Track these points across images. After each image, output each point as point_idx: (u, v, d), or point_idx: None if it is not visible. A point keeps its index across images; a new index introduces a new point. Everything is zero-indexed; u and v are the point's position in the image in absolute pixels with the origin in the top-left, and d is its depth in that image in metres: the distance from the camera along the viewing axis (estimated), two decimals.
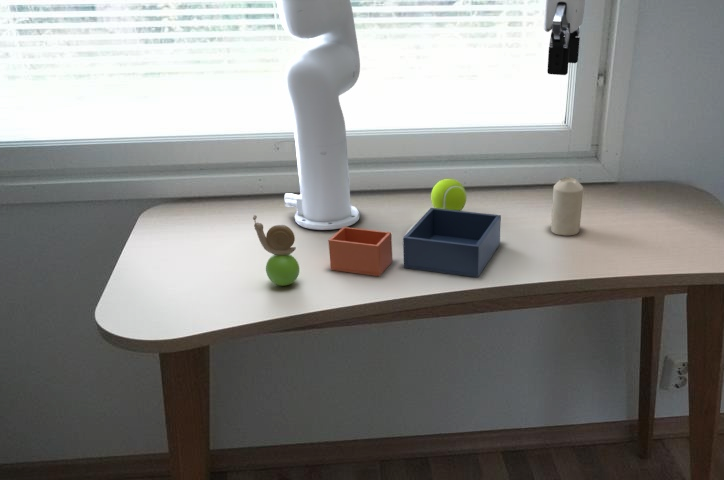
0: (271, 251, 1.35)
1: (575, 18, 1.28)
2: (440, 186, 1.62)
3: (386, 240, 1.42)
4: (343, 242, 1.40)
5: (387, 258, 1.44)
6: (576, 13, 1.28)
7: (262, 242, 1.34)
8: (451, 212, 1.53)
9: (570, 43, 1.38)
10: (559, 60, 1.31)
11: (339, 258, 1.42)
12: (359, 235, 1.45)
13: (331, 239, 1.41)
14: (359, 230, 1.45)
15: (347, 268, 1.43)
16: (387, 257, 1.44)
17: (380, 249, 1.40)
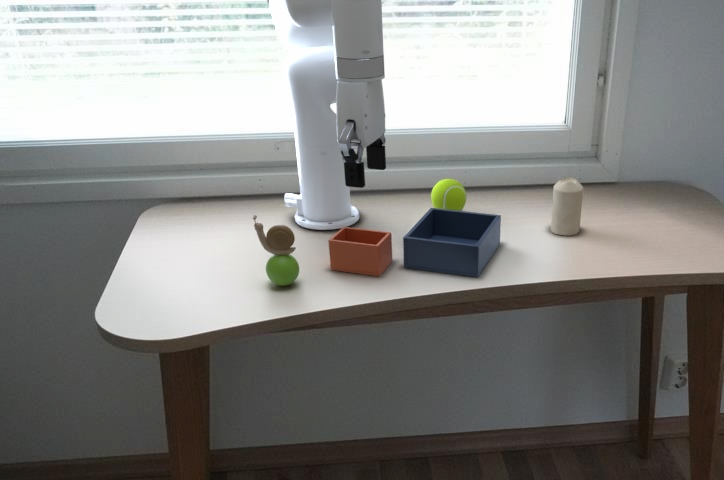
0: (271, 251, 1.35)
1: (366, 134, 1.29)
2: (440, 186, 1.62)
3: (386, 240, 1.42)
4: (343, 242, 1.40)
5: (387, 258, 1.44)
6: (367, 129, 1.29)
7: (262, 242, 1.34)
8: (451, 212, 1.53)
9: (376, 151, 1.39)
10: (354, 174, 1.31)
11: (339, 258, 1.42)
12: (359, 235, 1.45)
13: (331, 239, 1.41)
14: (359, 230, 1.45)
15: (347, 268, 1.43)
16: (387, 257, 1.44)
17: (380, 249, 1.40)
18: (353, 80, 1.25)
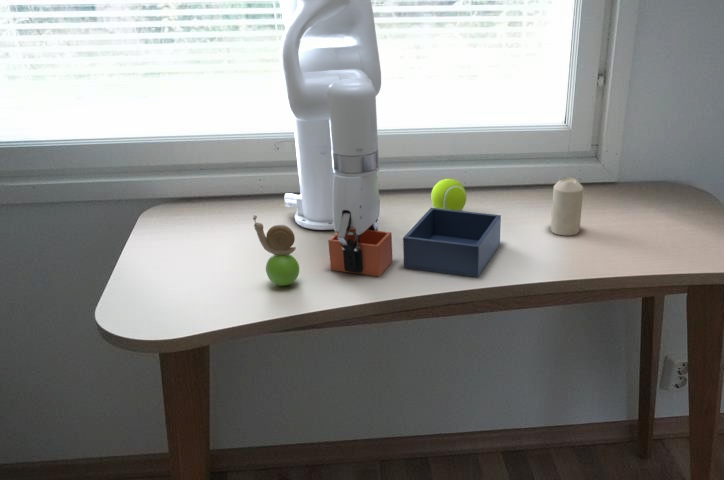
0: (271, 251, 1.35)
1: (361, 223, 1.36)
2: (440, 186, 1.62)
3: (386, 240, 1.42)
4: None
5: (387, 258, 1.44)
6: (361, 219, 1.36)
7: (262, 242, 1.34)
8: (451, 212, 1.53)
9: None
10: (352, 261, 1.40)
11: (339, 258, 1.42)
12: None
13: (331, 239, 1.41)
14: None
15: None
16: (387, 257, 1.44)
17: (380, 249, 1.40)
18: (349, 174, 1.33)
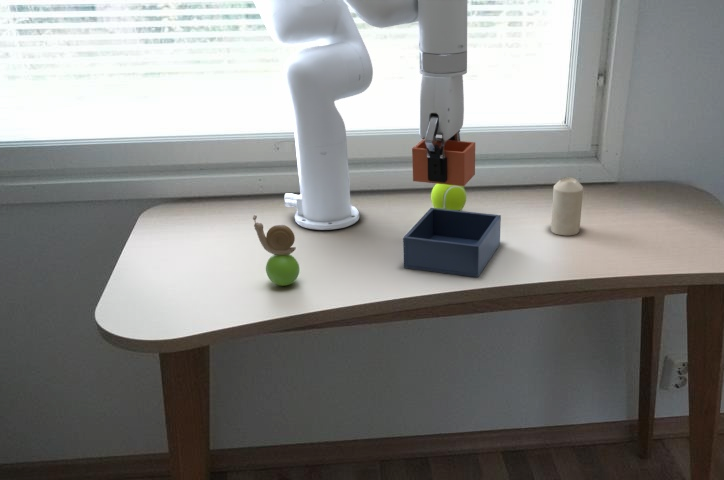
0: (271, 251, 1.35)
1: (448, 127, 1.32)
2: (440, 186, 1.62)
3: (471, 149, 1.38)
4: None
5: (471, 169, 1.40)
6: (449, 123, 1.32)
7: (262, 242, 1.34)
8: (451, 212, 1.53)
9: None
10: (437, 169, 1.36)
11: (423, 168, 1.38)
12: None
13: (415, 147, 1.37)
14: None
15: None
16: (471, 168, 1.40)
17: (466, 157, 1.36)
18: (438, 75, 1.29)
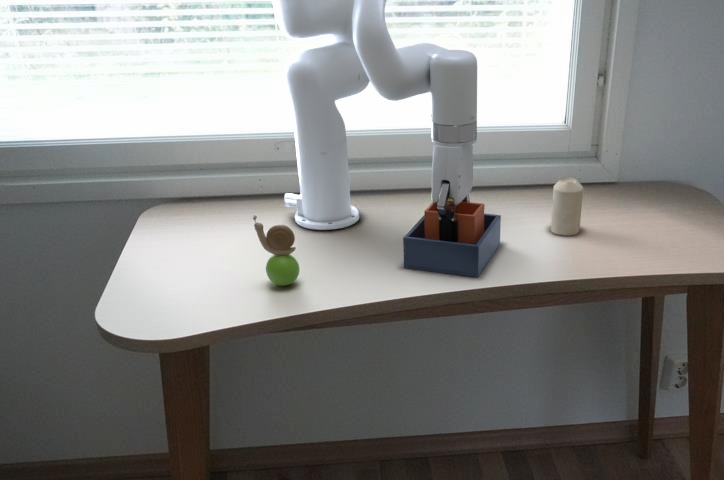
0: (271, 251, 1.35)
1: (459, 193, 1.38)
2: None
3: (480, 211, 1.44)
4: None
5: (480, 229, 1.46)
6: (460, 188, 1.38)
7: (262, 242, 1.34)
8: None
9: None
10: (448, 231, 1.42)
11: (434, 229, 1.44)
12: None
13: (427, 210, 1.43)
14: None
15: None
16: (480, 228, 1.46)
17: (476, 220, 1.42)
18: (449, 144, 1.35)
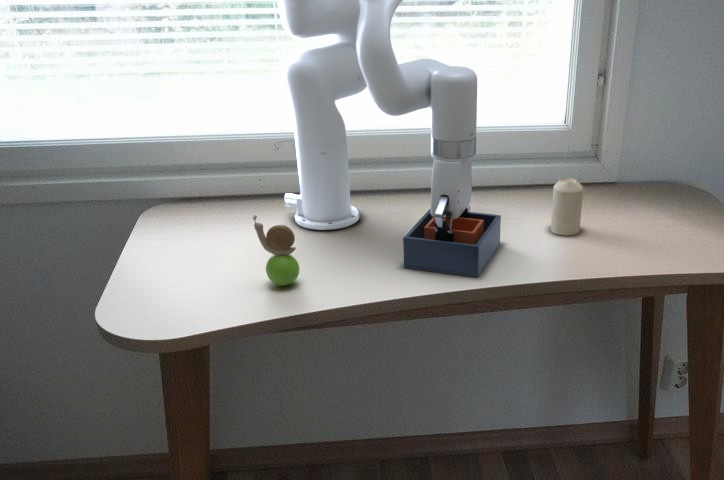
0: (271, 251, 1.35)
1: (458, 207, 1.40)
2: None
3: (480, 227, 1.46)
4: None
5: None
6: (458, 203, 1.40)
7: (262, 242, 1.34)
8: None
9: None
10: None
11: None
12: None
13: (427, 226, 1.45)
14: None
15: None
16: None
17: (475, 236, 1.44)
18: (448, 160, 1.36)
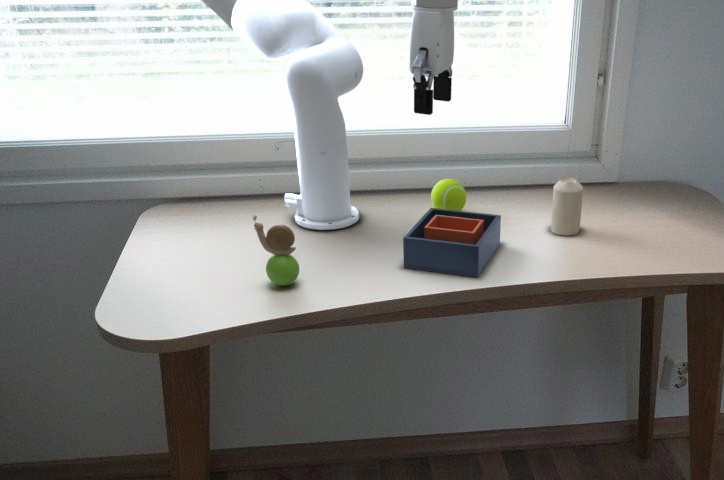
0: (271, 251, 1.35)
1: (437, 62, 1.36)
2: (440, 186, 1.62)
3: (480, 227, 1.46)
4: (439, 229, 1.44)
5: None
6: (438, 58, 1.36)
7: (262, 242, 1.34)
8: (451, 212, 1.53)
9: (442, 83, 1.46)
10: (423, 101, 1.38)
11: None
12: (451, 223, 1.49)
13: (427, 226, 1.45)
14: (452, 218, 1.48)
15: None
16: None
17: (475, 236, 1.44)
18: (428, 9, 1.33)
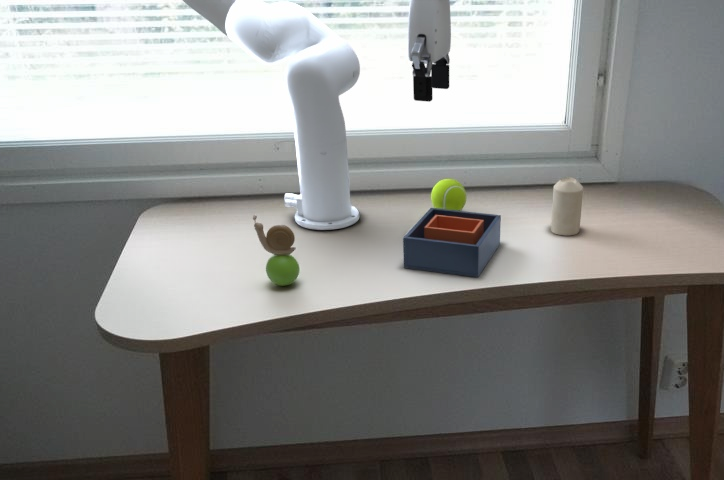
0: (271, 251, 1.35)
1: (435, 49, 1.37)
2: (440, 186, 1.62)
3: (480, 227, 1.46)
4: (439, 229, 1.44)
5: None
6: (436, 44, 1.37)
7: (262, 242, 1.34)
8: (451, 212, 1.53)
9: (440, 70, 1.47)
10: (423, 88, 1.39)
11: None
12: (451, 223, 1.49)
13: (427, 226, 1.45)
14: (452, 218, 1.48)
15: None
16: None
17: (475, 236, 1.44)
18: None
